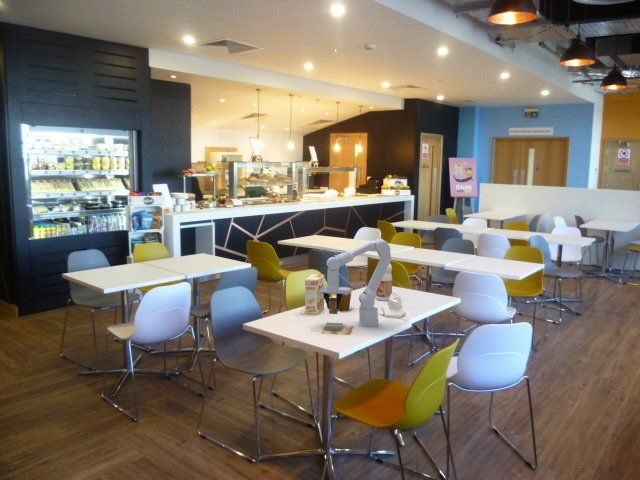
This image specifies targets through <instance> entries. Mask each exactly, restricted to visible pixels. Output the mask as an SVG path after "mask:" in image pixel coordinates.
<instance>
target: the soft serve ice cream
mask: <svg viewBox="0 0 640 480" xmlns="http://www.w3.org/2000/svg"><path fill="white" fill-rule="evenodd" d="M402 303H403V302H402V298H401V296H400V295H399V293H398V292H397V291H395V290H394V291H393V290H392V294H391V295H390V298H389V301H386V304H384V305H382V306H381V312H382V313H383V315H384V318H385V319H387V318H388V319H390V318H391V319H401V318H403V317H404V316H405V315H406V314H407V313H406V310H404V309H403V304H402Z"/></svg>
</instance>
